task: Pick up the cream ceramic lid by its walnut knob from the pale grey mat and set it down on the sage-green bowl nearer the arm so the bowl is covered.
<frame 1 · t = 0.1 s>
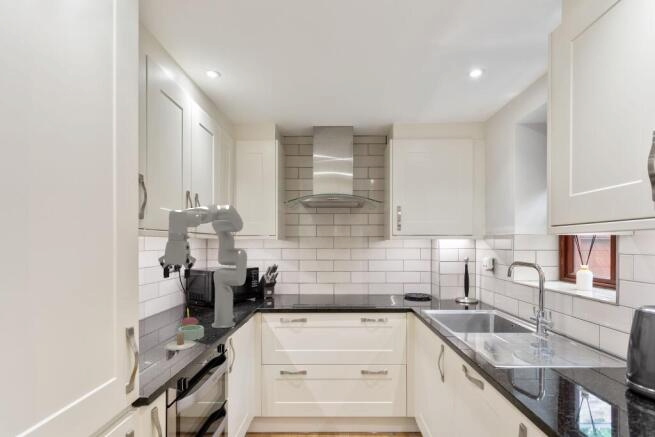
hand: (176, 278, 154), 31 cm above the counter, tool pointing down, fingers open, 9 cm apart
lid: (180, 346, 158), point 1 cm above the counter, touching mat
mat: (180, 347, 158), on the counter
cupcake: (189, 331, 185), on the counter
bowl: (190, 338, 172), on the counter
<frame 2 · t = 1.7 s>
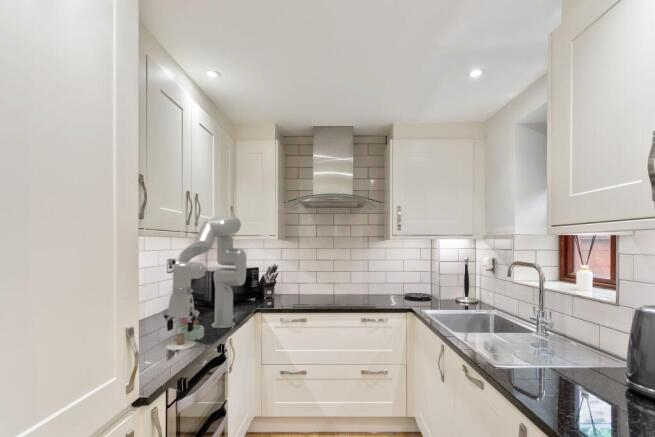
hand: (180, 330, 157), 8 cm above the counter, tool pointing down, fingers open, 9 cm apart
nothing on the counter moved.
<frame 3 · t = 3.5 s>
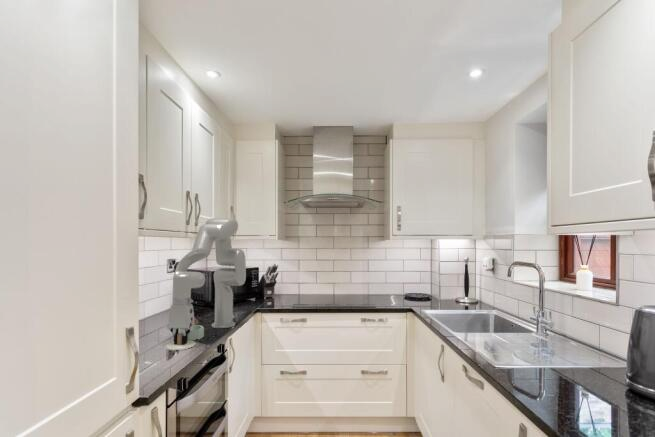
hand: (180, 343, 158), 2 cm above the counter, tool pointing down, fingers closed on lid, 3 cm apart
lid: (180, 346, 158), point 1 cm above the counter, touching gripper, mat
everything else where it was.
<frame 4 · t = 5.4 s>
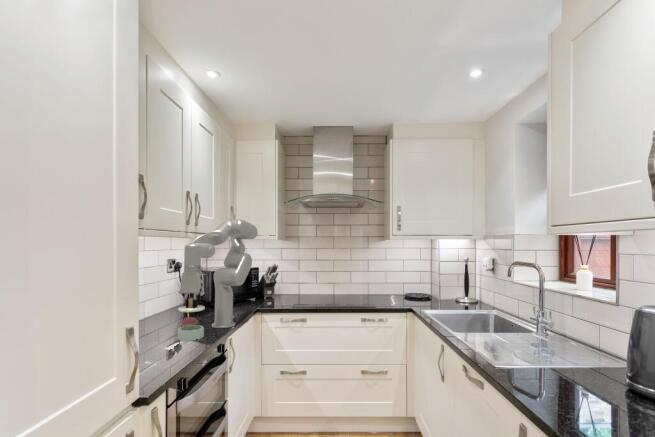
hand: (191, 307, 173), 15 cm above the counter, tool pointing down, fingers closed on lid, 3 cm apart
lid: (191, 309, 173), point 14 cm above the counter, touching gripper
everything else where it was.
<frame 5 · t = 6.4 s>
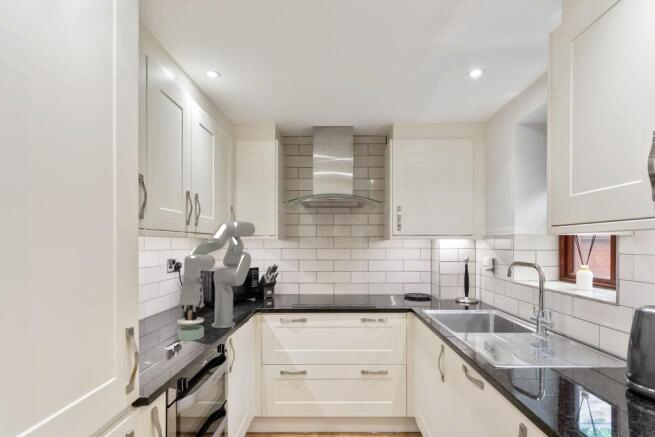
hand: (190, 319, 172), 9 cm above the counter, tool pointing down, fingers closed on lid, 3 cm apart
lid: (190, 321, 172), point 8 cm above the counter, touching gripper
everything else where it was.
when the fingers open (8 cm above the counter, at t = 7.3 s): lid drops 1 cm, resting on bowl.
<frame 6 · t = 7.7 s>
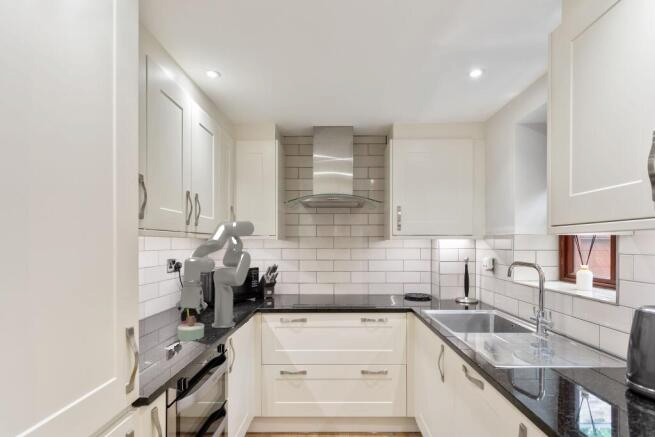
hand: (191, 321, 172), 8 cm above the counter, tool pointing down, fingers open, 7 cm apart
lid: (191, 327, 172), point 5 cm above the counter, touching bowl
everything else where it was.
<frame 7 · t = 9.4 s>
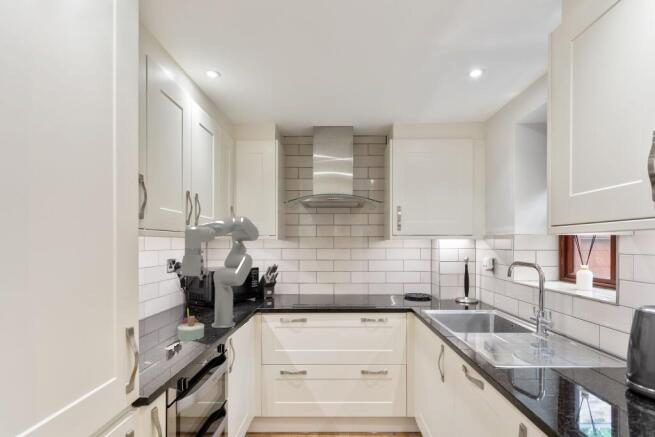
hand: (192, 287, 173), 24 cm above the counter, tool pointing down, fingers open, 9 cm apart
nothing on the counter moved.
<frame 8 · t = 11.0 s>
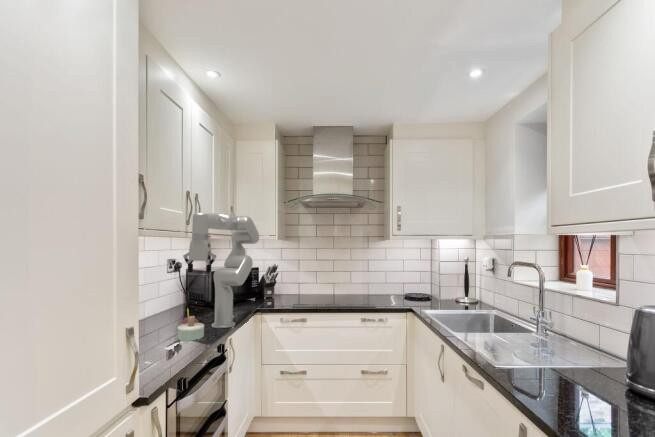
hand: (199, 272, 176), 31 cm above the counter, tool pointing down, fingers open, 9 cm apart
nothing on the counter moved.
at the end: lid 0.1 cm off-centre on the bowl, point 5.0 cm above the bowl's base; lid tilted 0°; the gripper is holding nothing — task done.
